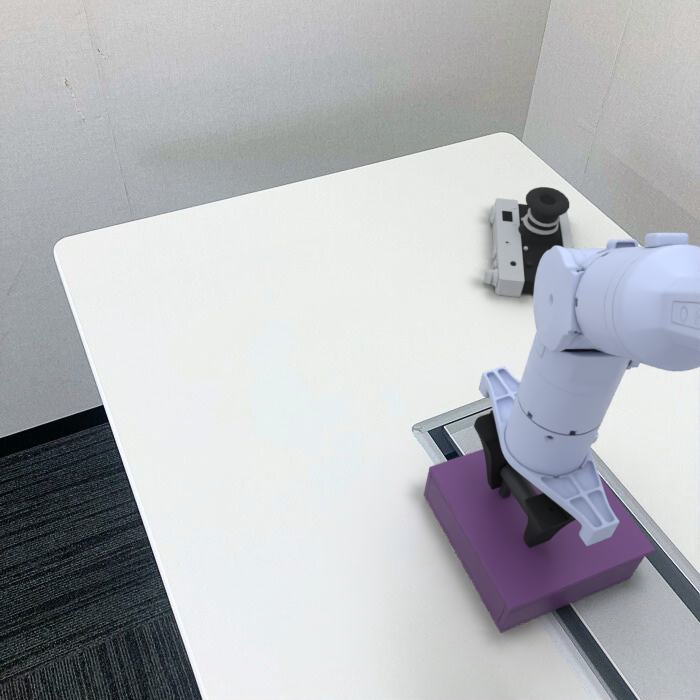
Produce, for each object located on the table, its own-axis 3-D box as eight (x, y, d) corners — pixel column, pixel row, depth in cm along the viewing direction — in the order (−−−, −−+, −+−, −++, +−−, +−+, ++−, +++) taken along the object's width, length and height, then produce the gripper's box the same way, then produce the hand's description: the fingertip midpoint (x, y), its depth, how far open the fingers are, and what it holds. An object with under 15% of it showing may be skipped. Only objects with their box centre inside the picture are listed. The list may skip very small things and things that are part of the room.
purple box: (541, 453, 69) (551, 429, 67) (630, 578, 61) (644, 557, 58) (423, 494, 66) (428, 471, 63) (500, 633, 57) (509, 612, 55)
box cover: (558, 426, 67) (571, 395, 64) (653, 553, 59) (673, 524, 55) (428, 470, 63) (434, 439, 60) (509, 612, 55) (522, 584, 52)
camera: (591, 253, 79) (495, 243, 79) (573, 302, 84) (483, 293, 84) (576, 171, 89) (491, 163, 90) (561, 220, 94) (481, 212, 95)
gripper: (682, 468, 46) (615, 573, 56) (551, 314, 55) (514, 428, 65) (586, 504, 44) (535, 606, 54) (467, 338, 53) (442, 451, 63)
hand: (518, 511), depth 59 cm, fingers closed on box cover, 5 cm apart
